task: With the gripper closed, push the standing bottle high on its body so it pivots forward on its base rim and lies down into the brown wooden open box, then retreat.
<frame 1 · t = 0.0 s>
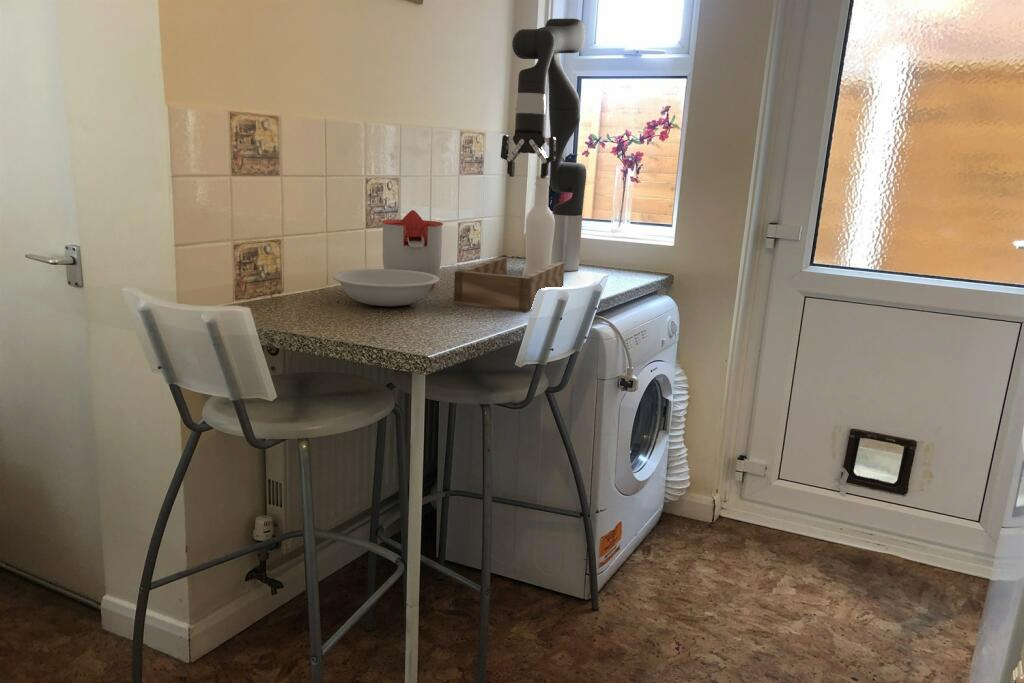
hand: (527, 177, 208), 29 cm above the counter, fingers open, 8 cm apart
bottle: (536, 286, 221), on the counter
brown wooden open box: (511, 297, 201), on the counter
soup bowl: (386, 305, 184), on the counter
citrus juicer: (411, 288, 208), on the counter
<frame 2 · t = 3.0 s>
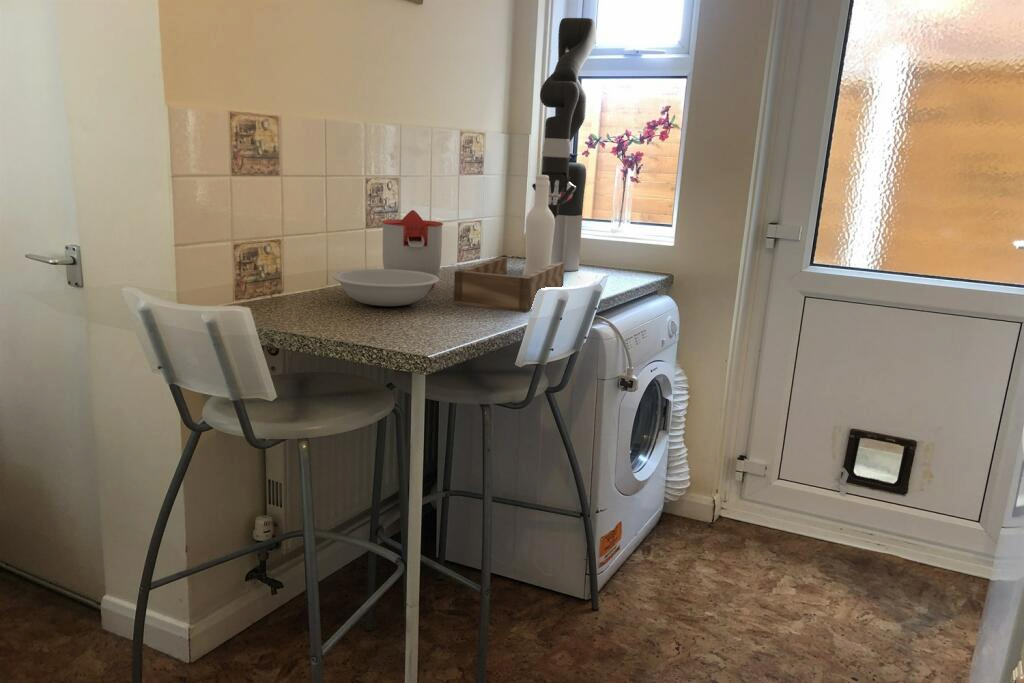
hand: (552, 218, 228), 18 cm above the counter, fingers closed
nothing on the counter moved.
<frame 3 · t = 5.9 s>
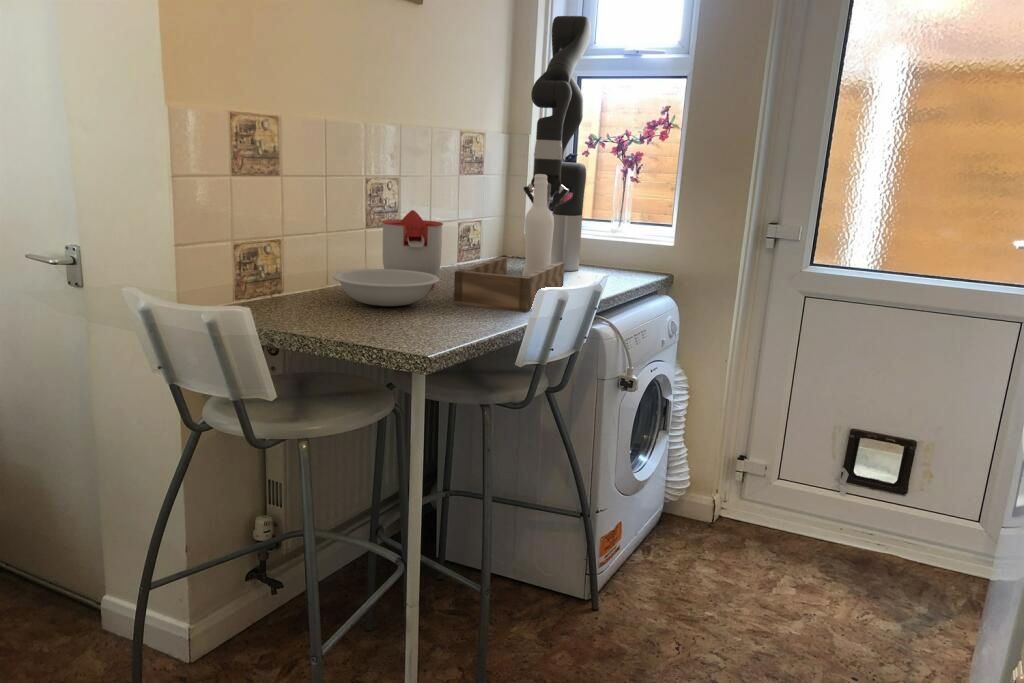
hand: (544, 222, 221), 17 cm above the counter, fingers closed
bottle: (536, 285, 221), on the counter, touching gripper
everything else where it was.
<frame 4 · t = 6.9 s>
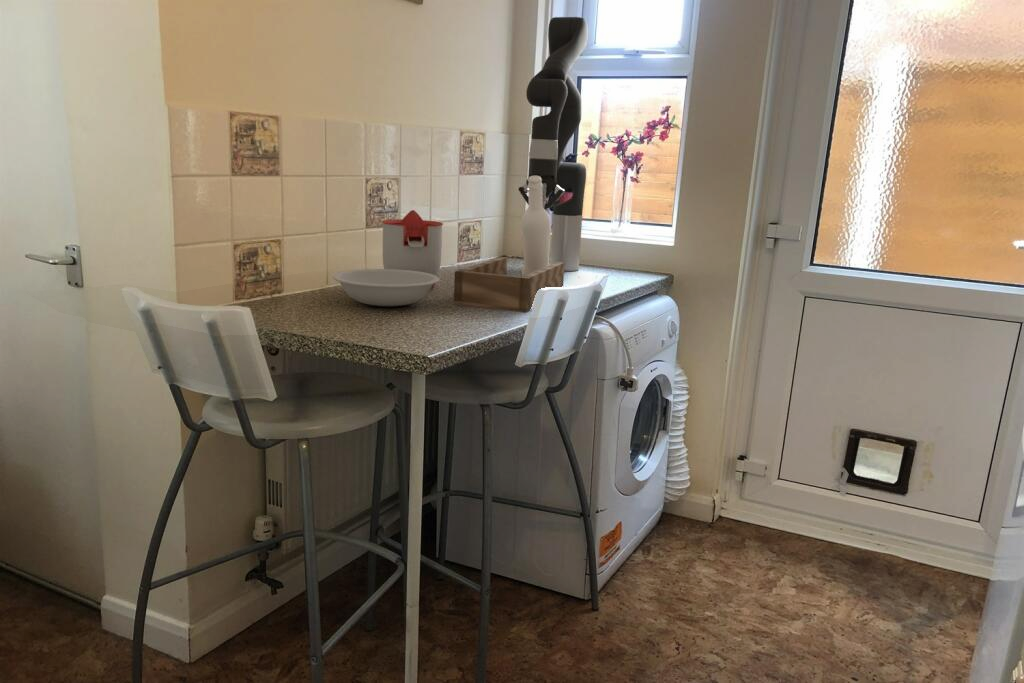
hand: (539, 223, 217), 17 cm above the counter, fingers closed
bottle: (536, 282, 221), point 1 cm above the counter
everything else where it was.
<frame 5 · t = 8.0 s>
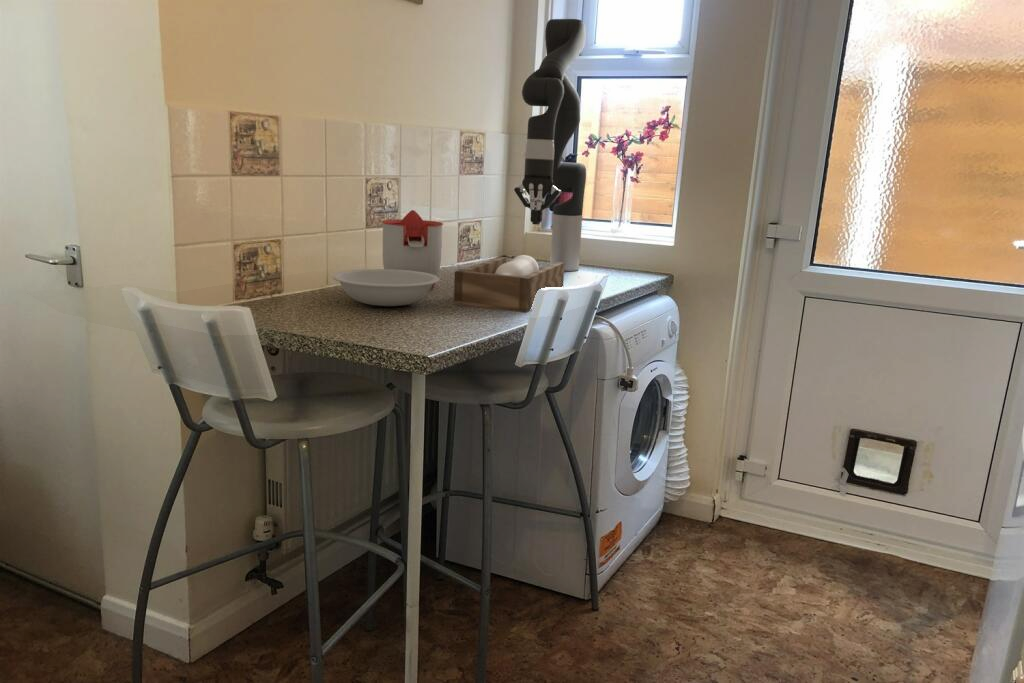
hand: (535, 224, 214), 17 cm above the counter, fingers closed
bottle: (525, 269, 217), point 5 cm above the counter, touching brown wooden open box
everything else where it was.
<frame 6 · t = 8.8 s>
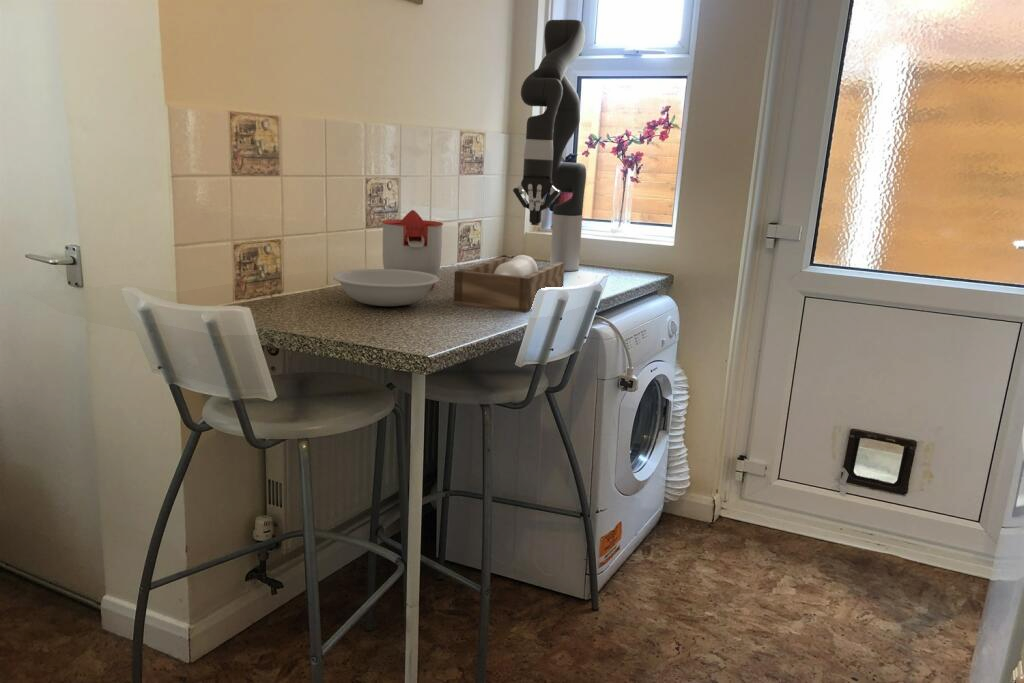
hand: (534, 224, 213), 17 cm above the counter, fingers closed
nothing on the counter moved.
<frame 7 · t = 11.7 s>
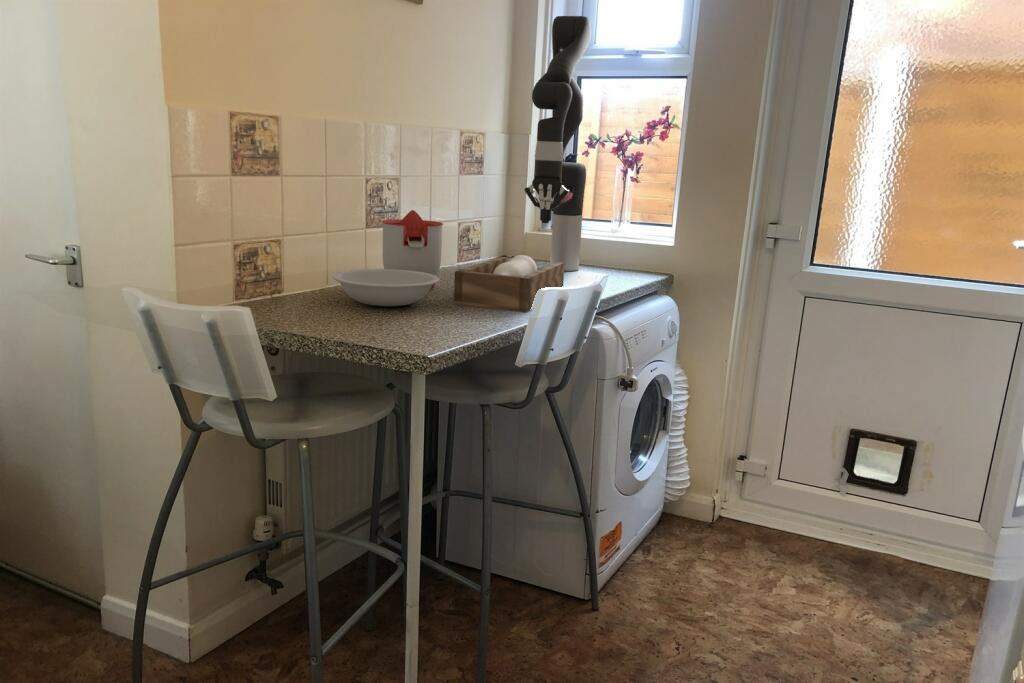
hand: (545, 222, 222), 17 cm above the counter, fingers closed
nothing on the counter moved.
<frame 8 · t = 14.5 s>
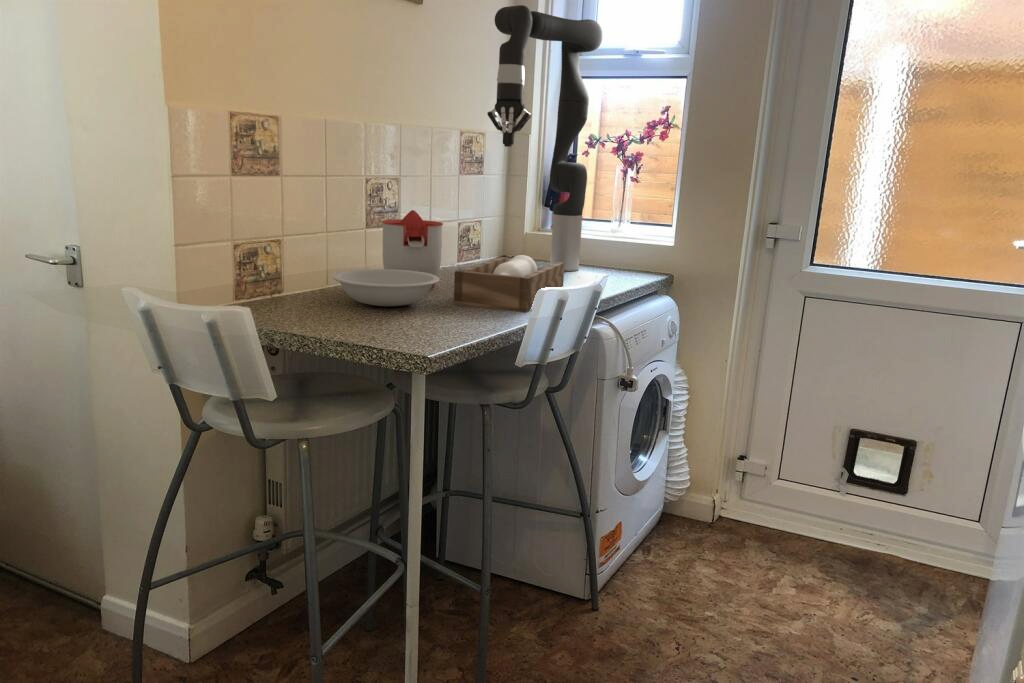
hand: (507, 146, 227), 37 cm above the counter, fingers closed
nothing on the counter moved.
at the end: bottle tilted 90°; bottle inside the target area (16.4 cm from its centre), point 4.8 cm above the counter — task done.
